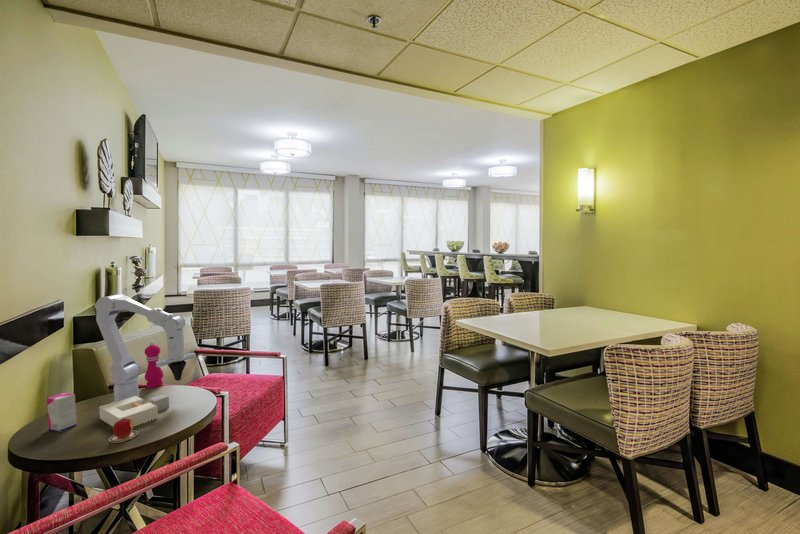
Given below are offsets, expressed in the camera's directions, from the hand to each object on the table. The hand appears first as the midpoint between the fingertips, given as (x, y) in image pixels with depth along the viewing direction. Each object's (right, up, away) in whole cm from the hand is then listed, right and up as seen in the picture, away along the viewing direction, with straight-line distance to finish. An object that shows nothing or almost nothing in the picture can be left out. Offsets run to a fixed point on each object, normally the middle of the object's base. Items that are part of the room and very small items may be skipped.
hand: (177, 379), depth 161 cm
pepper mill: (-21, -8, +19) cm, 30 cm away
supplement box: (-29, -11, -20) cm, 37 cm away
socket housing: (-10, -10, -14) cm, 20 cm away
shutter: (-8, -10, -12) cm, 17 cm away
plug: (-4, -10, -5) cm, 12 cm away
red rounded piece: (-2, -12, -28) cm, 30 cm away
